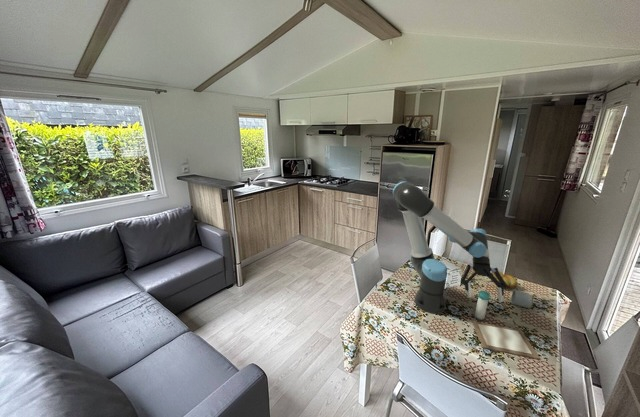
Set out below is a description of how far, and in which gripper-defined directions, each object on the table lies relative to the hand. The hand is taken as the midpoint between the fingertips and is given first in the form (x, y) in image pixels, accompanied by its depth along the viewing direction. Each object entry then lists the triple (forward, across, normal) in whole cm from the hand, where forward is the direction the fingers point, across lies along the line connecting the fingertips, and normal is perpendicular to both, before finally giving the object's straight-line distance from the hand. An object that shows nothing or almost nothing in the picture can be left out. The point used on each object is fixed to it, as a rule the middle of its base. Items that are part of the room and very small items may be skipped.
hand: (485, 299), depth 124 cm
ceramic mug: (-4, -23, -18) cm, 29 cm away
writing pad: (+17, -4, +5) cm, 18 cm away
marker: (+8, +2, -4) cm, 10 cm away
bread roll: (-15, -22, -30) cm, 40 cm away
